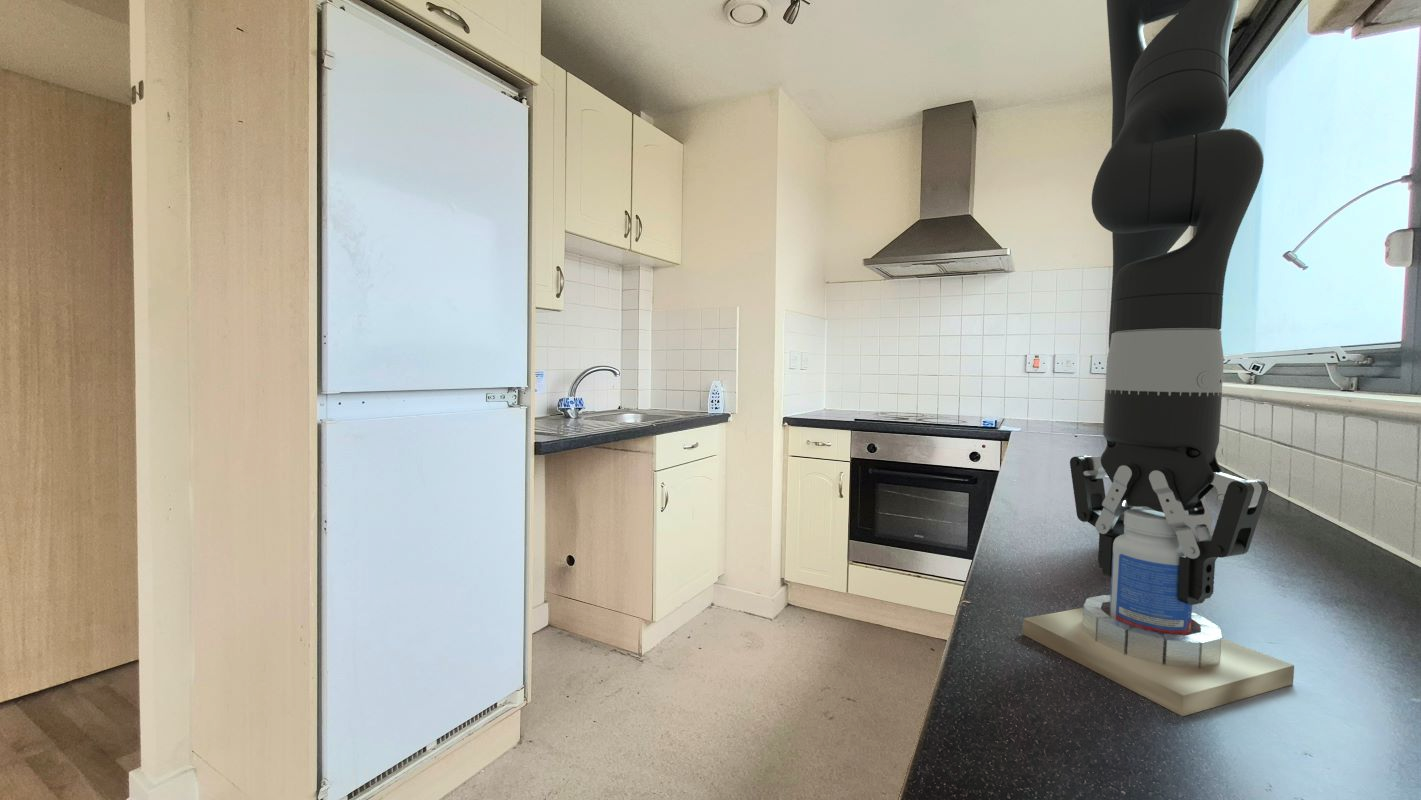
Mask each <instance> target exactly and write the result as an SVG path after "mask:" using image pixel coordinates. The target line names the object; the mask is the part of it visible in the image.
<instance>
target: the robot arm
mask: <svg viewBox="0 0 1421 800" xmlns="http://www.w3.org/2000/svg"><path fill="white" fill-rule="evenodd" d="M1239 1H1240V0H1106V13H1107V14H1106V15H1107V29H1108V30H1107V31H1108V45H1109V46H1108V47H1109V58H1110V60H1109V61H1110V74H1111V93H1112V96H1111V97H1112V113H1111V114H1112V117H1111V118H1112V122H1111V124H1112V125H1111V147H1110V149H1109V150H1108V152H1107V154H1106V155H1105V157H1104V159H1103V161H1102V163H1101V166H1100V167H1099V169H1098V171H1097V174H1096V177H1095V180H1094V184H1093V185H1092V186H1093V187H1092V193H1091V209H1092V213H1093V216H1094V218H1095V220H1096V221H1097V223H1099V224H1100V226H1101V227H1102V228H1104V229H1105V230H1107V231H1109V232H1111V235H1112V236H1111V237H1112V280H1111V296H1110V308H1109V310H1110V312H1109V324H1108V325H1109V326H1108V352H1107V357H1106V369H1105V370H1106V371H1105V390H1104V391H1105V393H1104V408H1103V409H1104V410H1103V411H1104V412H1103V415H1104V416H1103V429H1102V430H1103V437H1104V438H1105V440H1106V446H1105V449H1104V451H1103V452H1102V454H1101V456H1097V455H1078V456H1072V457H1071V458H1070V460H1069V467H1070V475H1071V480H1072V488H1073V497H1074V503H1075V504H1074V505H1075V510H1076V517H1077V519H1078V520H1079V521H1080V522H1083V523H1088V524H1090V525H1092V526H1093V527H1094V528H1095V529H1096V531H1097V532H1098V535H1099V536H1098V555H1097V556H1098V558H1097V562H1098V565H1099V568H1100V569H1101V571H1102V572H1101V573H1102V576H1105V577H1106V578H1110V579H1111V578H1112V556H1113V542H1114V540H1115V538H1116V537H1118V536H1120V535H1122V534H1126V533H1127V529H1126V528H1125V527H1124V513H1125V511H1126V510H1130V509H1143V510H1153V511H1158V512H1163V513H1164V514H1165V517H1166V520H1167V523H1168V525H1169V526H1170V527H1171V528H1172V529H1174V530H1175V532H1176V535H1177V538H1178V540H1179V543H1180V546H1181V548H1182V551H1183V553H1184V554H1185V556H1180V563H1179V582H1178V600H1179V601H1180V602H1183V603H1186V604H1189V605H1192V606H1194V605H1198V604H1203V603H1204V602H1205V600H1206V599H1210V598H1211V597H1212V595H1213V594H1214V589H1215V588H1214V584H1215V572H1216V571H1215V569H1216V567H1215V566H1216V561H1217V559H1218V558H1227V557H1228V558H1229V557H1235V556H1239V555H1240V556H1242V555H1245V554H1247V553H1248V552H1249V549H1250V546H1251V543H1252V540H1253V537H1254V534H1255V531H1256V528H1257V524H1258V522H1259V518H1260V517H1261V513H1262V510H1263V507H1264V504H1265V501H1266V497H1267V494H1268V492H1269V486H1268V483H1266V482H1265V481H1264V480H1262V479H1257V478H1255V479H1243V478H1241V477H1238V476H1236V475H1235V476H1234V475H1232V474H1228V473H1225V472H1223V471H1222V468H1221V466H1220V465H1219V462H1218V460H1217V456H1216V455H1217V454H1216V453H1217V450H1218V447H1219V443H1220V434H1221V433H1220V432H1221V413H1222V400H1223V399H1222V398H1223V397H1222V396H1223V379H1224V348H1223V343H1222V331H1221V329H1222V320H1223V319H1222V318H1223V303H1224V300H1223V299H1224V290H1225V288H1224V287H1225V279H1226V273H1227V268H1228V263H1229V258H1230V256H1231V251H1232V248H1233V245H1234V242H1235V240H1236V237H1237V234H1238V231H1239V229H1240V226H1241V224H1242V222H1243V220H1244V218H1245V215H1246V212H1247V211H1248V208H1249V206H1250V205H1251V202H1252V199H1253V197H1254V195H1255V193H1256V190H1257V188H1258V185H1259V182H1260V181H1261V180H1260V179H1261V176H1262V173H1263V170H1264V161H1265V160H1264V151H1263V147H1262V145H1261V144H1260V142H1259V141H1258V139H1257V138H1256V137H1255V136H1254V135H1253V134H1252V133H1251V132H1249V131H1247V130H1245V129H1243V128H1237V127H1225V128H1223V125H1224V123H1225V121H1226V119H1227V115H1228V111H1229V102H1230V101H1229V48H1230V42H1231V35H1232V31H1233V27H1234V24H1235V19H1236V17H1237V12H1238V11H1237V10H1238V7H1239ZM1168 18H1171V20H1170V21H1169V22H1168V23H1167V24H1165V26H1164V27H1163V28H1162V29H1161V30H1159V32H1158V33H1157V34H1156V35H1155V36H1154V37H1153V39H1152V40H1151V41H1150V42H1149V43H1148V45H1147V43H1146V40H1145V36H1144V27H1145V26H1147V25H1148V24H1151V23H1156V22H1159V21H1161V20H1162V21H1163V20H1165V19H1168ZM1190 227H1197V230H1196V233H1195V234H1194V235H1193V237H1192V238H1191V239H1190V240H1189V241H1188V242H1187V243H1185V244H1184V245H1182V246H1181V247H1179V248H1176V249H1174V250H1172V251H1170V250H1171V249H1172V248H1173V247H1174V245H1175V244H1176V243H1177V242H1178V240H1179V239H1181V237H1182V236H1183V235H1184V234H1185V232H1186V231H1187V230H1188V229H1189V228H1190ZM1106 475H1107V476H1108V478H1109V480H1110V481H1111V485H1110V487H1109V489H1108V491H1107V493H1106V490H1105V483H1104V477H1105V476H1106ZM1214 488H1216V491H1217V500H1218V501H1219V502H1220V503H1221V507H1220V510H1219V513H1218V516H1217V520H1216V524H1215V526H1214V530H1213V527H1212V524H1213V522H1214V520H1213V516H1212V514H1211V511H1210V509H1209V507H1208V503H1207V501H1206V496H1207V494H1208V493H1210V492H1211V491H1212V490H1213V489H1214Z"/></svg>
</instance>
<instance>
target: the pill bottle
mask: <svg viewBox="0 0 1421 800" xmlns="http://www.w3.org/2000/svg"><path fill="white" fill-rule="evenodd" d="M1124 527H1125V528H1126V529H1127V533H1126V534H1122V535H1120V536H1118V537H1116V538H1115V540H1114V542H1113V556H1112V578H1110V580H1111V581H1110V583H1111V584H1110V595H1111V599H1110V617H1111V618H1113V619H1116V620H1118V621H1121V622H1123V623H1126V624H1128V625H1130V626H1133V627H1137V628H1141V629H1145V630H1149V631H1154V632H1158V633H1164V634H1175V635H1190V632H1191V616H1192V613H1193V612H1192V611H1193V605H1189V604H1186V603H1183V602H1180V601H1179V600H1178V582H1179V563H1180V556H1185V554H1184V553H1183V551H1182V548H1181V546H1180V543H1179V540H1178V538H1177V535H1176V532H1175V530H1174V529H1172V528H1171V527H1170V526H1169V525H1168V523H1167V520H1166V517H1165V514H1164V513H1163V512H1158V511H1153V510H1143V509H1130V510H1126V511H1125V513H1124Z"/></svg>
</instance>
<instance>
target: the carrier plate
mask: <svg viewBox="0 0 1421 800" xmlns="http://www.w3.org/2000/svg"><path fill="white" fill-rule="evenodd" d="M1022 621H1023V622H1022V635H1024V636H1025V637H1027V638H1030V639H1031V640H1033V641H1035V642H1037V643H1039V644H1040V645H1043V646H1045V647H1047V648H1048V649H1050V650H1052V651H1054V652H1056V653H1057V654H1060V655H1062V656H1064V657H1066V658H1068V659H1069V660H1072V661H1074V662H1076V663H1078V664H1080V665H1082V666H1083V667H1085V668H1087V669H1089V670H1091V671H1093V672H1094V673H1098V674H1099V675H1101V676H1103V677H1105V678H1107V679H1108V680H1110V681H1113V682H1115V683H1117V684H1119V685H1120V686H1123V687H1125V689H1128V690H1130V691H1132V692H1133V693H1136V694H1138V695H1140V696H1142V697H1144V698H1146V699H1148V700H1150V701H1151V702H1154V703H1155V704H1158V705H1160V706H1161V707H1163V708H1165V709H1167V710H1169V711H1171V712H1173V713H1175V714H1177V715H1179V716H1180V717H1186V716H1189V715H1191V714H1192V715H1193V714H1196V713H1199V712H1203V711H1206V710H1209V709H1212V708H1216V707H1219V706H1223V705H1226V704H1230V703H1233V702H1234V703H1235V702H1236V701H1241V700H1243V699H1247V698H1250V697H1253V696H1257V695H1261V694H1264V693H1268V692H1271V691H1274V690H1277V689H1281V688H1285V687H1288V686H1292V685H1293V684H1294V678H1295V677H1294V674H1295V665H1294V664H1293V663H1289V662H1287V661H1284V660H1282V659H1278V658H1276V657H1274V656H1271V655H1268V654H1265V653H1263V652H1260V651H1257V650H1255V649H1252V648H1250V647H1246V646H1245V645H1241V644H1238V643H1236V642H1233V641H1231V640H1228V639H1225V638H1223V637H1221V655H1220V663H1219V664H1217V665H1213V666H1209V667H1205V668H1198V669H1197V668H1187V667H1176V666H1166V665H1164V664H1162V665H1161V664H1157V663H1153V662H1150V661H1146V660H1142V659H1139V658H1135V657H1131V656H1127V654H1122V653H1120V652H1118V651H1116V650H1114V649H1111V648H1109V647H1107V646H1105V645H1103V644H1101V643H1098V642H1097V641H1095V640H1094V639H1093V638H1092V637H1091V636H1090V635H1089V634H1088V633H1087V632H1085V631H1084V630H1083V628H1082V627H1083V607H1079V608H1074V609H1068V610H1063V611H1058V612H1051V613H1045V614H1040V615H1034V616H1029V617H1024V618H1023V620H1022Z"/></svg>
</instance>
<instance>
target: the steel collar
mask: <svg viewBox="0 0 1421 800" xmlns="http://www.w3.org/2000/svg"><path fill="white" fill-rule="evenodd" d="M1110 599H1111V594H1107V595H1105V594H1103V595H1098V596H1097V595H1096V596H1090V597H1087V598H1086V600H1085V602H1084V604H1083V605H1082V606H1083V607H1082V608H1083V627H1082V628H1083V630H1084V631H1085V632H1087V633H1088V634H1089V635H1090V636H1091V637H1092V638H1093V639H1094V640H1095V641H1097V642H1098V643H1101V644H1103V645H1105V646H1107V647H1109V648H1111V649H1114V650H1116V651H1118V652H1120V653H1122V654H1127V656H1131V657H1135V658H1139V659H1142V660H1146V661H1150V662H1153V663H1157V664H1161V665H1162V664H1164V665H1166V666H1176V667H1187V668H1197V669H1198V668H1205V667H1209V666H1213V665H1217V664H1219V663H1220V655H1221V638H1222V630H1221V628H1220V626H1218V625H1217V624H1215V623H1213V622H1212V621H1210V620H1208V619H1207V618H1205V617H1204V616H1202V615H1199V614H1197V613H1195V612H1192V616H1191V632H1190V635H1175V634H1164V633H1158V632H1154V631H1149V630H1145V629H1141V628H1137V627H1133V626H1130V625H1128V624H1126V623H1123V622H1121V621H1118V620H1116V619H1113V618H1111V617H1110Z"/></svg>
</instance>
